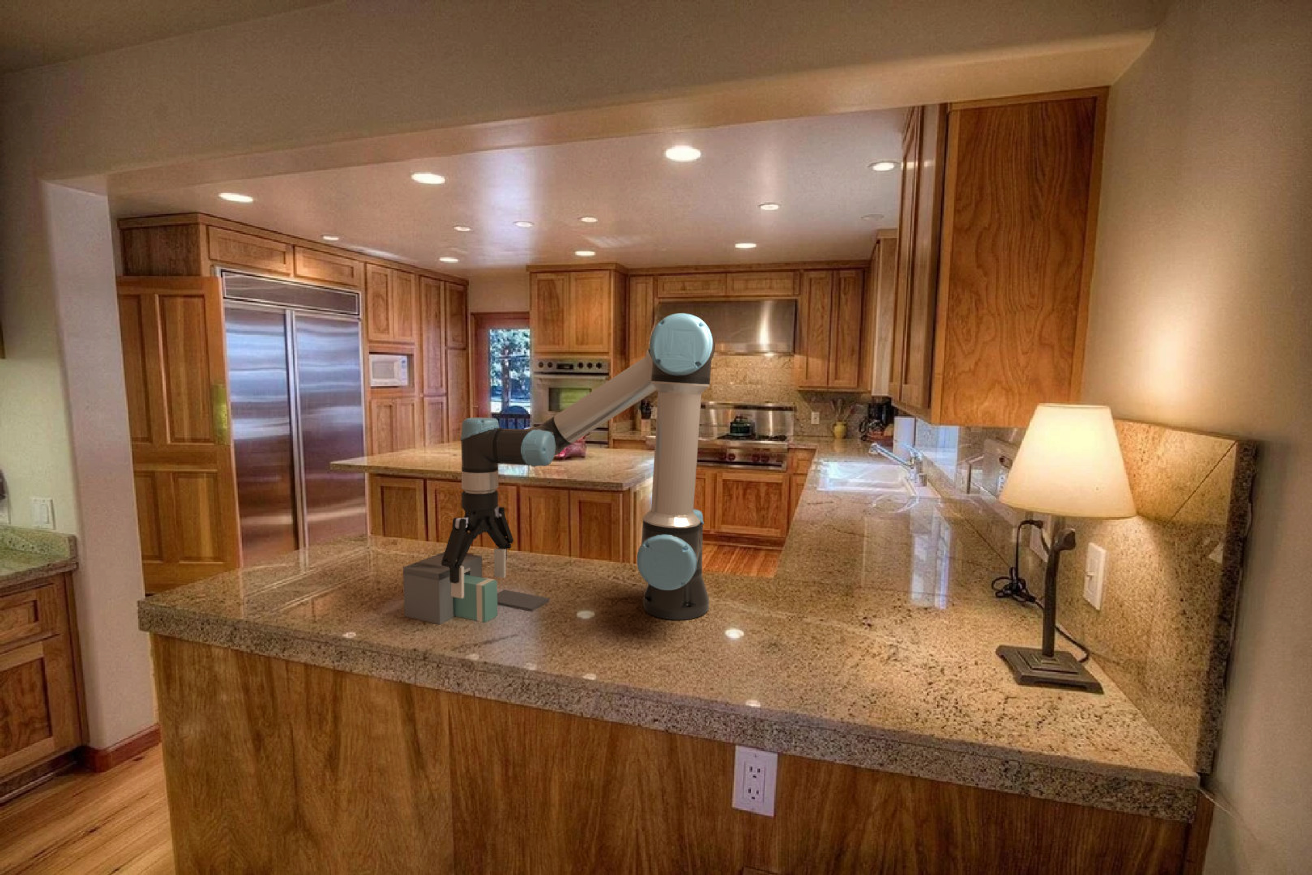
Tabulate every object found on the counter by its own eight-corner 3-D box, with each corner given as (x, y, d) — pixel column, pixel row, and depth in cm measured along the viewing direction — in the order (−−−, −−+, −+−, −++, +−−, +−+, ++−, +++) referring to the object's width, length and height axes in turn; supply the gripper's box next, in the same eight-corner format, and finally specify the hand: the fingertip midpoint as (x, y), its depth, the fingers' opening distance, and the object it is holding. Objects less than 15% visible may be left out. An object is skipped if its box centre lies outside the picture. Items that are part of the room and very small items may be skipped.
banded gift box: (497, 615, 126) (497, 579, 125) (485, 622, 122) (484, 585, 121) (454, 606, 130) (454, 572, 129) (441, 613, 126) (440, 577, 126)
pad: (549, 600, 134) (549, 598, 134) (531, 611, 128) (531, 608, 128) (504, 591, 139) (504, 589, 139) (485, 601, 133) (485, 599, 133)
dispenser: (482, 601, 133) (481, 555, 132) (440, 624, 121) (438, 573, 119) (449, 595, 137) (448, 550, 136) (404, 616, 124) (403, 567, 123)
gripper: (502, 479, 135) (502, 566, 137) (421, 498, 112) (422, 603, 114) (529, 482, 132) (528, 571, 134) (451, 502, 109) (452, 609, 111)
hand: (479, 586), depth 124 cm, fingers open, 13 cm apart
